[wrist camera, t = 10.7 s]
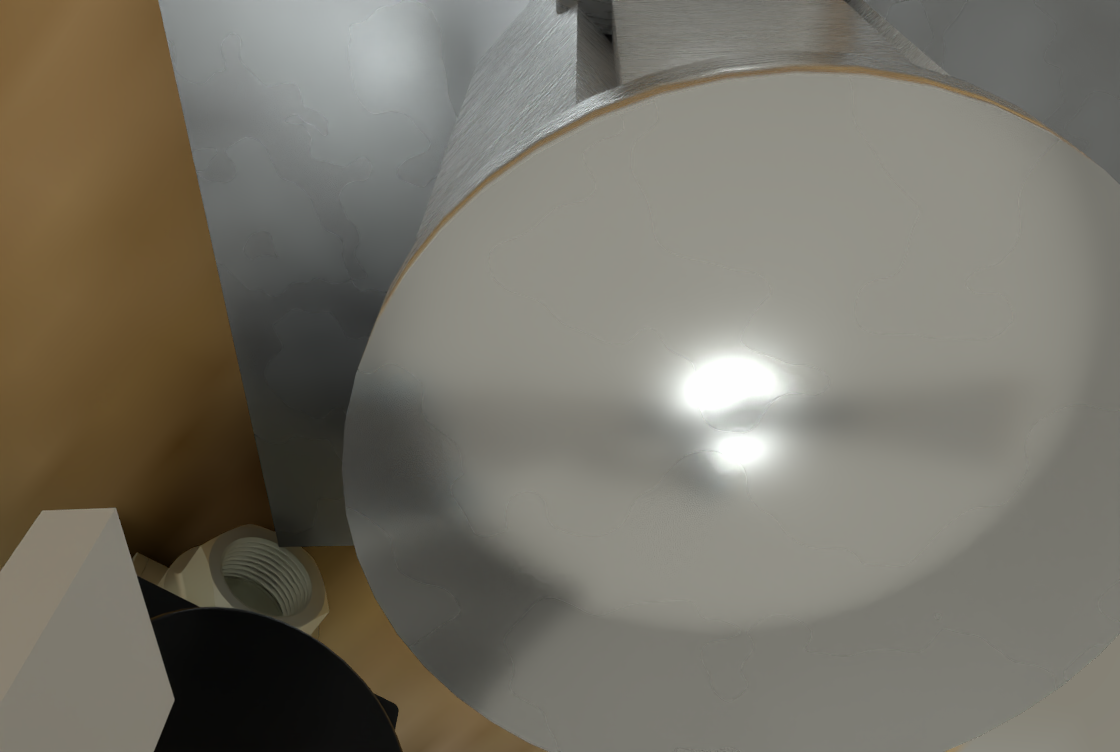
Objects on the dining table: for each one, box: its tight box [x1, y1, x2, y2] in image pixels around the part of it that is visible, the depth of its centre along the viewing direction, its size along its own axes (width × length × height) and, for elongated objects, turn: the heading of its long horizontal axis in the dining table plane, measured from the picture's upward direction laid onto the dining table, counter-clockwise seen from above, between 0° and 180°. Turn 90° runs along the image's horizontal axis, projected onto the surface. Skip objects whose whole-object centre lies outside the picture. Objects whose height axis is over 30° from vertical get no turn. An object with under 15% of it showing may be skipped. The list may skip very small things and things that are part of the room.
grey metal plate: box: [158, 0, 1120, 547], centre depth 21 cm, size 22×22×10 cm
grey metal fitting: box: [342, 0, 1120, 752], centre depth 16 cm, size 17×10×13 cm, turn 2°
